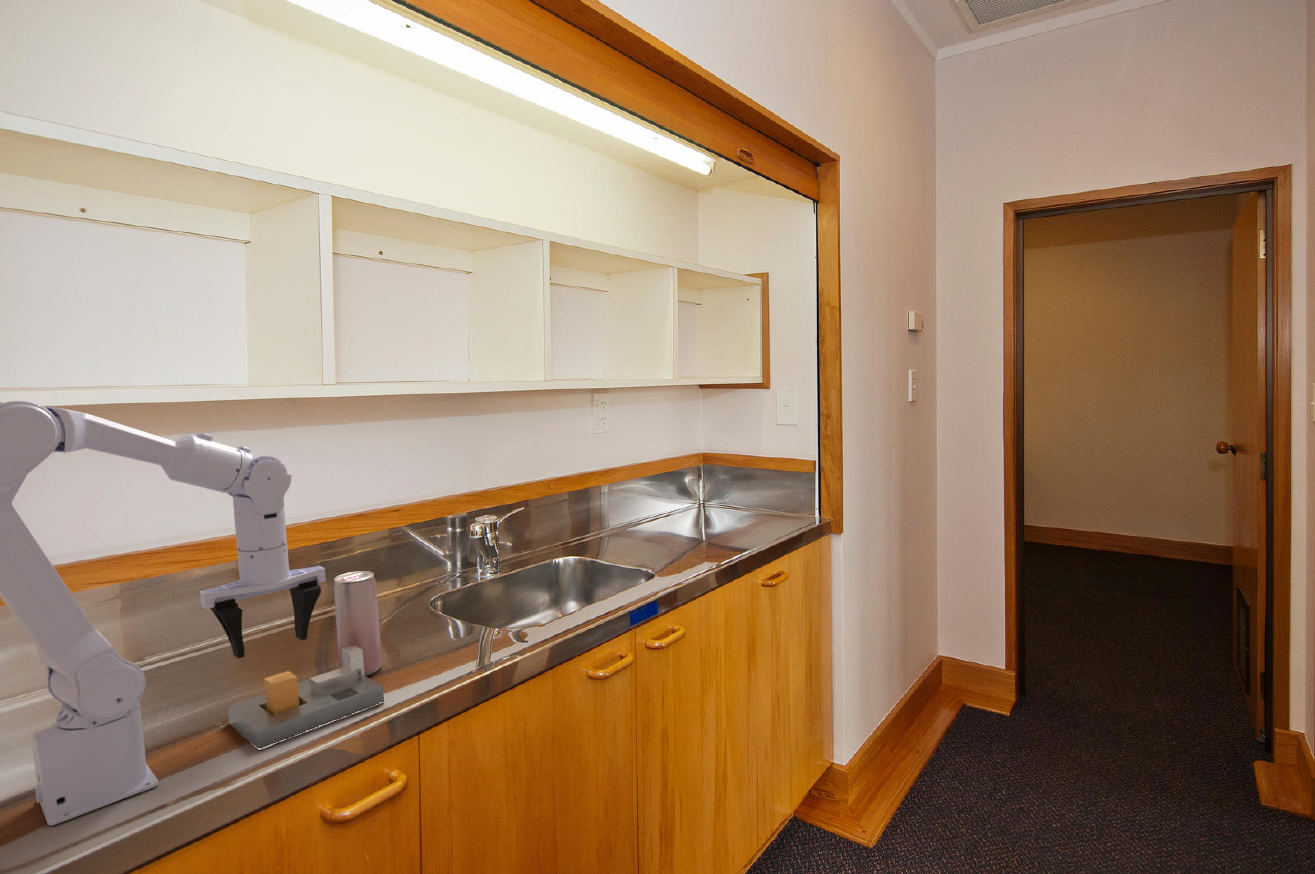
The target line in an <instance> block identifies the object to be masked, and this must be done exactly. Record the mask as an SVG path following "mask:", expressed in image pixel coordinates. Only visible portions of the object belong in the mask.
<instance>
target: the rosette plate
mask: <svg viewBox="0 0 1315 874" xmlns="http://www.w3.org/2000/svg"><path fill="white" fill-rule="evenodd" d="M298 694H299V706H297V707H295V708H292V709H289V710H286V711H283V712H280V713H278V714H275V715H272V716H271V715H270V714H269V713H268V712H267V703H266V693H263V694H261V695H257V696H254V697H251V698H247V699H244V700H241V701H239V702H236V703H232V704H230V705H228V706H227V713H228V714H227V715H228V723H229V725H230V726H231V727H233V729H234V730H236V731H237V732H238V733H239V734H240V735H241V736H242V737H243V738H244V739H245V740H246V739H247V740H248V741H249V742H248V741H247V740H246V741H247V742H248V743H249V744H251V743H252V744H253V745H255V746H256V747H257V748H263V747H265V746H268V745H270V744H273V743H276V742H279V741H281V740H284V739H288V738H290V737H293V736H295V735H297V734H300V733H303V732H305V731H306V730H310V729H313V728H315V727H318V726H319V725H323V724H326V723H328V722H331V721H333V720H337V719H340V718H342V717H344V716H348V715H351V714H352V713H355V712H357V711H361V710H363V709H366V708H369V707H371V706H374V705H376V704H379V703H380V702H384V703H385V695H384V686H383V685H382V684H380V683H378V682H376V681H375V680H373V679H371V678H369V677H368V676H365V680H362V681H360V682H357V683H354V684H351V685H348V686H345V687H342V688H340V689H337V690H334V691H331V692H328V693H325V694H322V695H320V696H318V695H316V694H315V693H313V692H312V691H311V685H310V678H308V679H306V680H302V681H299V682H298ZM252 744H251V745H252ZM253 745H252V746H253Z"/></svg>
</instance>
